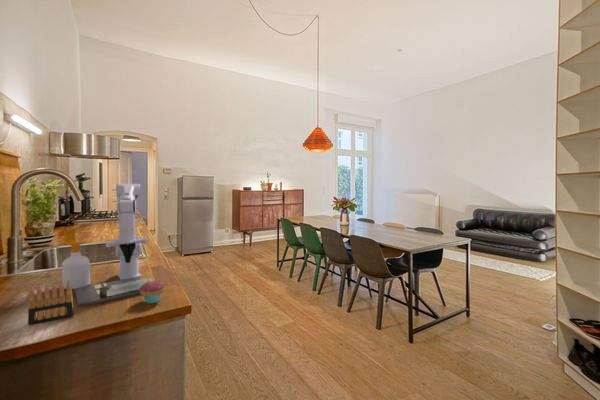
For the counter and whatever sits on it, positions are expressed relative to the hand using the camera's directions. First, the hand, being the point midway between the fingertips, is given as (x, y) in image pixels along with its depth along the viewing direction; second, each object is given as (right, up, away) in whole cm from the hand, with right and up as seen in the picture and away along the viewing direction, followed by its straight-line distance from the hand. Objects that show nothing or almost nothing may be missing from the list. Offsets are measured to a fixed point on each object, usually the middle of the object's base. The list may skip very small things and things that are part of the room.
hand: (127, 262), depth 117 cm
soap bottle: (-22, -10, +1) cm, 24 cm away
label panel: (-4, -11, -4) cm, 12 cm away
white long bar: (+4, -9, -7) cm, 12 cm away
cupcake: (+16, -12, -12) cm, 23 cm away
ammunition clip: (-7, -12, -27) cm, 31 cm away
